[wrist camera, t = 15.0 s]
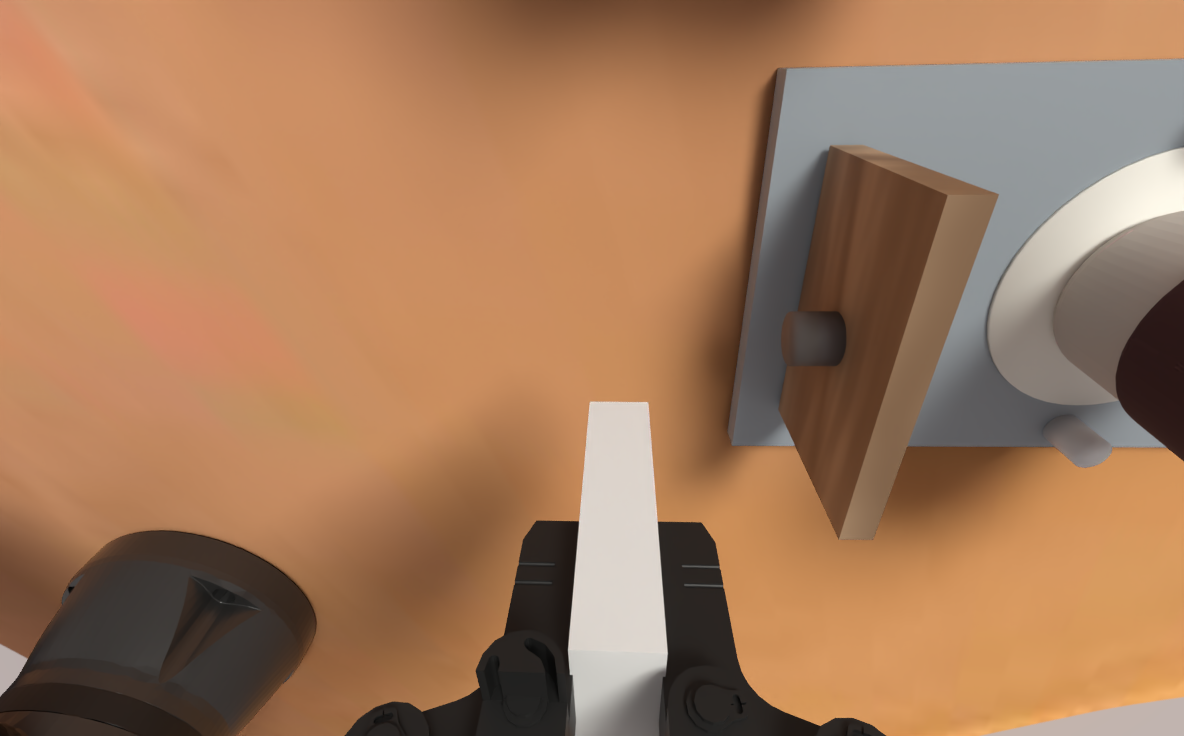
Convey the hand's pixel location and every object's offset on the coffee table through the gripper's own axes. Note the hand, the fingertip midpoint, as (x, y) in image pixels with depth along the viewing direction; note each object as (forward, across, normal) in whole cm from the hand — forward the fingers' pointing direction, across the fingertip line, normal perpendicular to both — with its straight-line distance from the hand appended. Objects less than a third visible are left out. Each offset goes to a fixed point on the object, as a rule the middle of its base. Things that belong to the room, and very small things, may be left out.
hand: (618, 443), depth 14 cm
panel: (+10, +8, 0) cm, 13 cm away
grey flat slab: (+12, +18, 0) cm, 21 cm away
